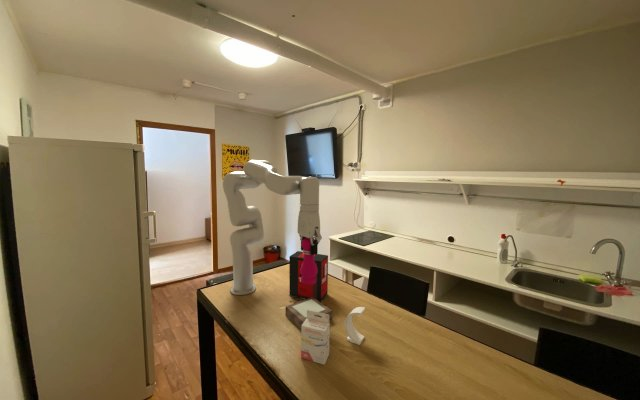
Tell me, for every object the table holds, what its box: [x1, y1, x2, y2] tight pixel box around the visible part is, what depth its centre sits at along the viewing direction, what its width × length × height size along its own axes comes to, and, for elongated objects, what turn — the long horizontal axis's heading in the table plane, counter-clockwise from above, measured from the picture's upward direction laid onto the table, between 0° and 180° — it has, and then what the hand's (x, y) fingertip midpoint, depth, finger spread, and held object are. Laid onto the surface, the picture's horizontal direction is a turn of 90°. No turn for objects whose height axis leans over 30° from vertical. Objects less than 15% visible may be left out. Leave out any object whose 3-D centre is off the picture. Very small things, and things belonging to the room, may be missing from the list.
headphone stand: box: [344, 306, 366, 346], centre depth 94 cm, size 5×6×12 cm
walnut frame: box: [285, 297, 333, 330], centre depth 107 cm, size 14×14×4 cm
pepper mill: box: [300, 238, 318, 285], centre depth 104 cm, size 7×7×20 cm
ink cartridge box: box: [300, 310, 331, 366], centre depth 84 cm, size 9×5×15 cm, turn 71°
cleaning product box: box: [288, 250, 329, 303], centre depth 126 cm, size 16×9×20 cm, turn 68°
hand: (309, 251), depth 104 cm, fingers closed on pepper mill, 6 cm apart
